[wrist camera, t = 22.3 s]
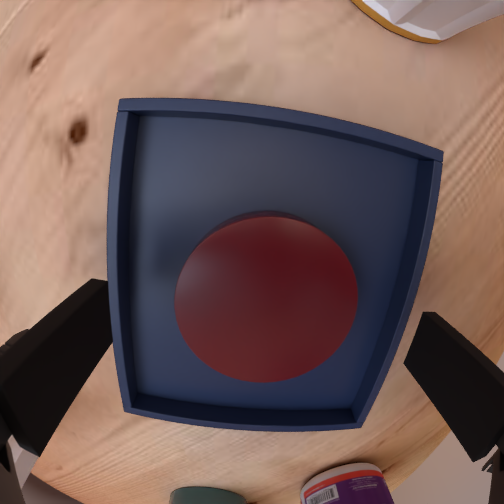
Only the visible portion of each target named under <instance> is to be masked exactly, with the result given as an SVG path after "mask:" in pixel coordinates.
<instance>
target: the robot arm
mask: <svg viewBox="0 0 504 504" xmlns="http://www.w3.org/2000/svg"><path fill="white" fill-rule="evenodd" d="M112 342H113V336H112V326H111V315H110V303H109V286H108V281H104V280H98V279H90V280H89V281H88V282H87V283H85V284H84V285H83V286H81V287H80V288H79V289H78V290H76V291H75V292H74V293H73V294H71V295H70V296H69V297H68V298H66V299H65V300H64V301H63V302H62V303H60V304H59V305H58V306H57V307H55V308H54V309H53V310H52V311H51V312H49V313H48V314H47V315H46V316H45V317H44V318H42V319H41V320H40V321H39V322H38V323H37V324H35V325H34V326H33V327H32V328H31V329H30V330H28V329H26V330H24V331H21V332H19V333H17V334H15V335H13V336H12V337H11V338H10V339H9V340H8V341H7V342H6V343H5V345H4V344H3V345H2V346H1V347H0V504H25V501H24V498H23V495H22V492H21V488H20V484H19V481H18V477H17V473H16V469H15V465H14V460H13V455H12V450H11V447H10V445H9V442H8V439H9V438H10V437H11V435H13V437H14V439H15V440H16V442H17V443H18V445H19V447H21V448H23V449H24V450H26V451H28V452H30V453H32V454H34V455H36V456H38V457H40V456H41V454H42V452H43V450H44V449H45V447H46V445H47V443H48V442H49V440H50V438H51V437H52V435H53V433H54V432H55V430H56V428H57V427H58V425H59V423H60V422H61V420H62V418H63V417H64V415H65V413H66V412H67V410H68V409H69V407H70V405H71V404H72V402H73V401H74V399H75V397H76V396H77V394H78V393H79V391H80V390H81V388H82V387H83V385H84V384H85V382H86V380H87V379H88V377H89V376H90V374H91V373H92V371H93V370H94V368H95V367H96V365H97V364H98V362H99V361H100V360H101V358H102V357H103V355H104V354H105V352H106V351H107V349H108V348H109V346H110V345H111V344H112ZM403 364H404V365H405V366H406V368H407V369H408V370H409V372H410V373H411V374H412V376H413V377H414V378H415V380H416V381H417V382H418V384H419V385H420V386H421V388H422V389H423V390H424V392H425V393H426V395H427V396H428V397H429V399H430V400H431V402H432V403H433V404H434V406H435V407H436V409H437V410H438V411H439V413H440V414H441V416H442V417H443V418H444V420H445V421H446V423H447V424H448V426H449V427H450V429H451V430H452V431H453V433H454V434H455V436H456V437H457V439H458V440H459V442H460V443H461V445H462V446H463V447H464V449H465V451H466V452H467V454H468V455H469V457H470V458H471V460H472V462H475V461H477V460H479V459H481V458H483V457H485V456H486V455H487V454H488V453H489V452H490V451H491V449H492V448H493V447H494V446H495V444H496V445H497V446H498V450H497V451H496V452H495V453H494V454H493V456H492V457H491V458H490V459H489V460H488V461H487V463H486V464H485V465H484V466H483V468H482V471H484V470H485V469H486V468H487V467H488V466H489V465H490V464H492V465H491V467H490V468H489V469H488V470H487V472H490V473H492V480H491V489H490V496H489V503H488V504H504V373H503V371H501V370H500V369H499V368H498V367H497V366H496V365H495V364H494V363H493V362H492V361H491V360H490V359H489V358H488V357H486V356H485V355H484V354H483V353H482V352H481V351H480V350H479V349H478V348H477V347H475V346H474V345H473V344H472V343H471V342H470V341H469V340H467V339H466V338H465V337H464V336H463V335H462V334H461V333H459V332H458V331H457V330H456V329H455V328H454V327H452V326H451V325H450V324H449V323H448V322H447V321H445V320H444V319H443V318H442V317H441V316H439V315H438V314H437V313H436V312H423V313H422V316H421V319H420V322H419V325H418V328H417V330H416V333H415V336H414V338H413V341H412V343H411V346H410V348H409V351H408V353H407V356H406V358H405V361H404V363H403Z"/></svg>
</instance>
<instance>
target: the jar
mask: <svg viewBox="0 0 504 504" xmlns="http://www.w3.org/2000/svg"><path fill="white" fill-rule="evenodd" d="M169 504H248V503H247V501H246V499H245V498H243V497H242V496H240V495H238V494H236V493H233V492H230V491H226V490H222V489H216V488H208V487H186V488H180V489H177V490H175V491H173V492H172V493H171V495H170V500H169Z"/></svg>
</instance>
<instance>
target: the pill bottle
mask: <svg viewBox="0 0 504 504" xmlns="http://www.w3.org/2000/svg"><path fill="white" fill-rule="evenodd" d="M300 499H301V504H394V502H393V499H392V497H391V494H390V492H389V489H388V487H387V484H386V482H385V479H384V477H383V475H382V472H381V470H380V469H379V468H378V467H377V466H375V465H373V464H370V463H353V464H348V465H343V466H339V467H336V468H333V469H330V470H327V471H325V472H323V473H320V474H318V475H316V476H315V477H313V478H312V479H311V480H310V481H308V482H307V483H306V484H305V485H304V487H303V488H302V490H301V493H300Z"/></svg>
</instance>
